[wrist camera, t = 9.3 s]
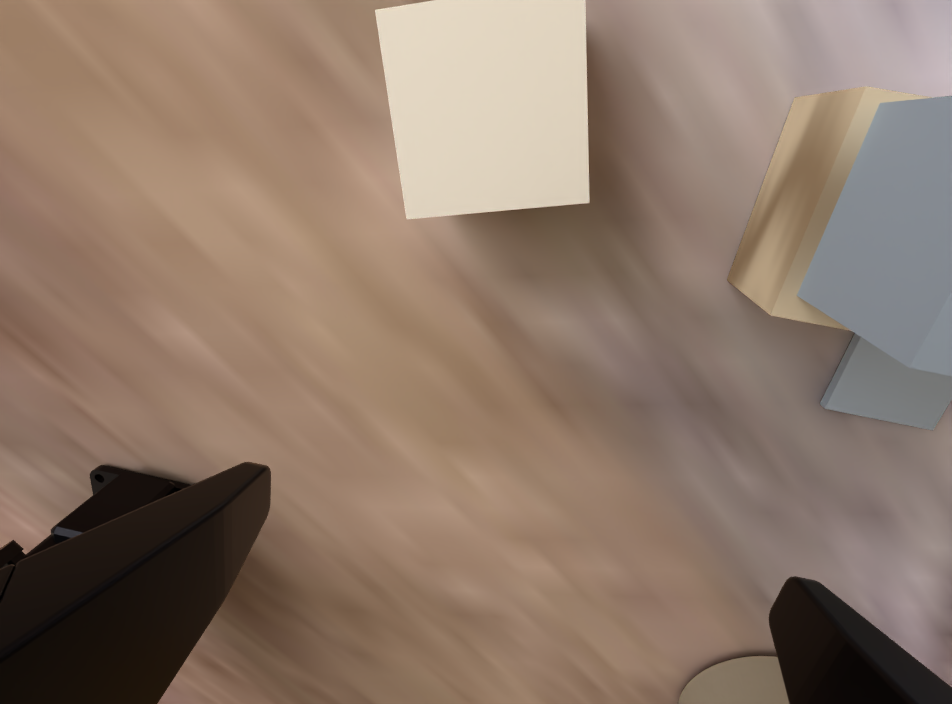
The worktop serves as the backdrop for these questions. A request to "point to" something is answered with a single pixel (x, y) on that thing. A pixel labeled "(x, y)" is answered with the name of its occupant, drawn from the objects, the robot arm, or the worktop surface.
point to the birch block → (803, 197)
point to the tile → (886, 388)
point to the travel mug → (738, 683)
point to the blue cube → (894, 238)
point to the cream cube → (487, 103)
